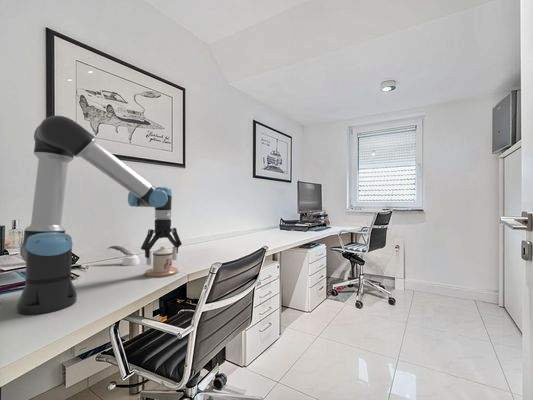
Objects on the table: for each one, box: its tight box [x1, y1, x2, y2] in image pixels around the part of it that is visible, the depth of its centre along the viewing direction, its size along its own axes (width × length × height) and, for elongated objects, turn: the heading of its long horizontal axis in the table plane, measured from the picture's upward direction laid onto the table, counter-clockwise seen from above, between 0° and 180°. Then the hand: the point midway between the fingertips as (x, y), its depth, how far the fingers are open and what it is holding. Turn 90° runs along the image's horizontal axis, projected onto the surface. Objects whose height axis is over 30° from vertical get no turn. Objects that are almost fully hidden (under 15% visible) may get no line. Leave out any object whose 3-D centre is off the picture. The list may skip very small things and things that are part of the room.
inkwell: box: [107, 245, 141, 267], centre depth 147 cm, size 9×18×10 cm, turn 92°
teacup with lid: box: [152, 246, 173, 273], centre depth 130 cm, size 12×9×12 cm
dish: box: [144, 266, 179, 278], centre depth 129 cm, size 15×15×1 cm
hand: (162, 262), depth 129 cm, fingers open, 13 cm apart
